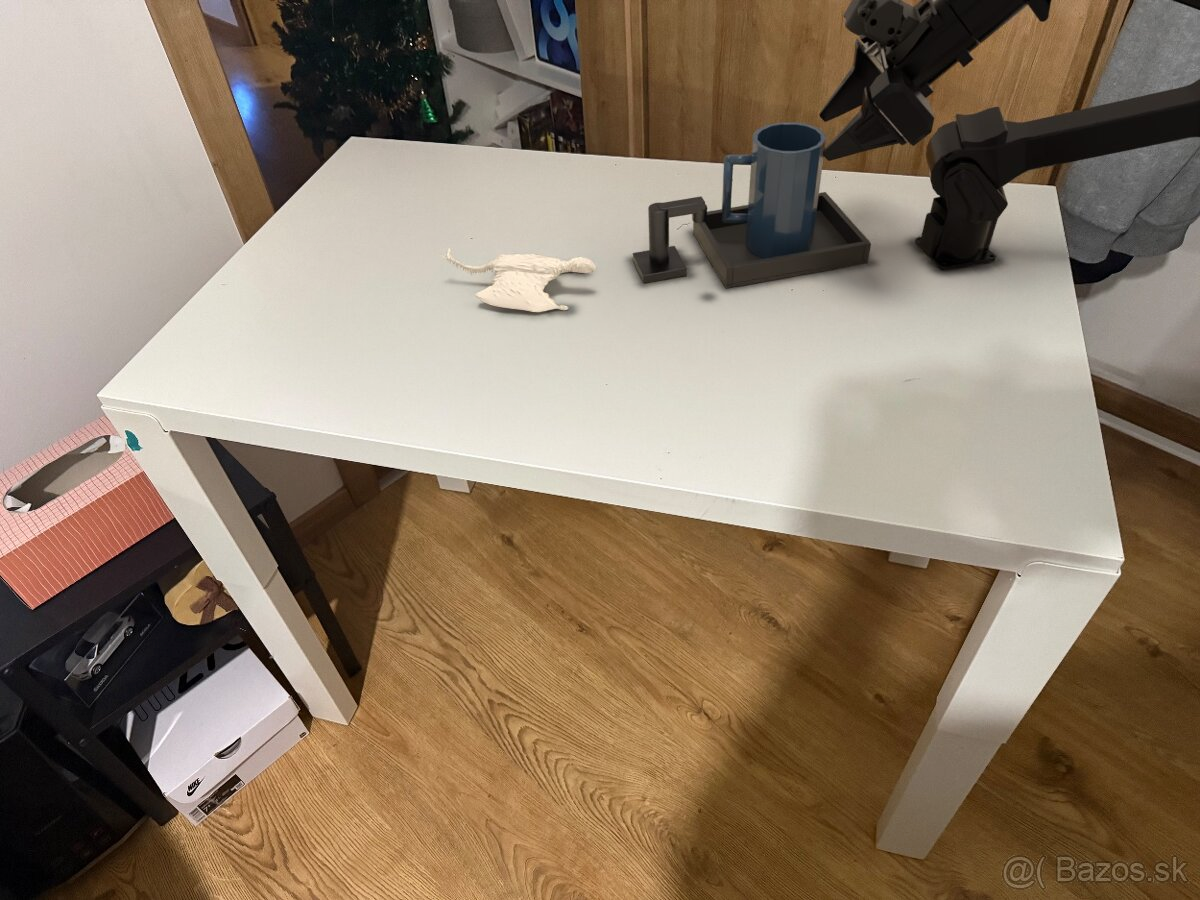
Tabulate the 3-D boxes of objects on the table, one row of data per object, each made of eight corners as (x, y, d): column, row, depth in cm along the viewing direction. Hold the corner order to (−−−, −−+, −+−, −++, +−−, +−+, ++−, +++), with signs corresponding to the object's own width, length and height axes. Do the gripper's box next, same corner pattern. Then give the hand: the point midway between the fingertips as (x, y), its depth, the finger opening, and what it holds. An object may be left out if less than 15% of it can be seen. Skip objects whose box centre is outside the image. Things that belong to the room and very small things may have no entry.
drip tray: (822, 210, 99) (825, 191, 98) (867, 263, 91) (871, 243, 89) (692, 232, 98) (693, 213, 96) (725, 288, 89) (727, 268, 87)
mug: (810, 227, 96) (824, 122, 87) (812, 262, 91) (827, 153, 82) (721, 226, 97) (726, 122, 89) (718, 259, 92) (723, 152, 83)
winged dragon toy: (428, 307, 90) (420, 274, 87) (459, 257, 97) (452, 226, 94) (587, 319, 86) (583, 286, 84) (607, 267, 93) (605, 235, 91)
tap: (643, 283, 91) (641, 221, 85) (632, 260, 94) (630, 199, 89) (711, 271, 92) (714, 209, 86) (698, 249, 95) (700, 187, 90)
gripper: (898, -76, 78) (771, 47, 88) (921, -18, 65) (770, 120, 75) (964, 11, 83) (837, 120, 92) (999, 82, 70) (847, 200, 79)
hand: (823, 137), depth 85 cm, fingers open, 9 cm apart
